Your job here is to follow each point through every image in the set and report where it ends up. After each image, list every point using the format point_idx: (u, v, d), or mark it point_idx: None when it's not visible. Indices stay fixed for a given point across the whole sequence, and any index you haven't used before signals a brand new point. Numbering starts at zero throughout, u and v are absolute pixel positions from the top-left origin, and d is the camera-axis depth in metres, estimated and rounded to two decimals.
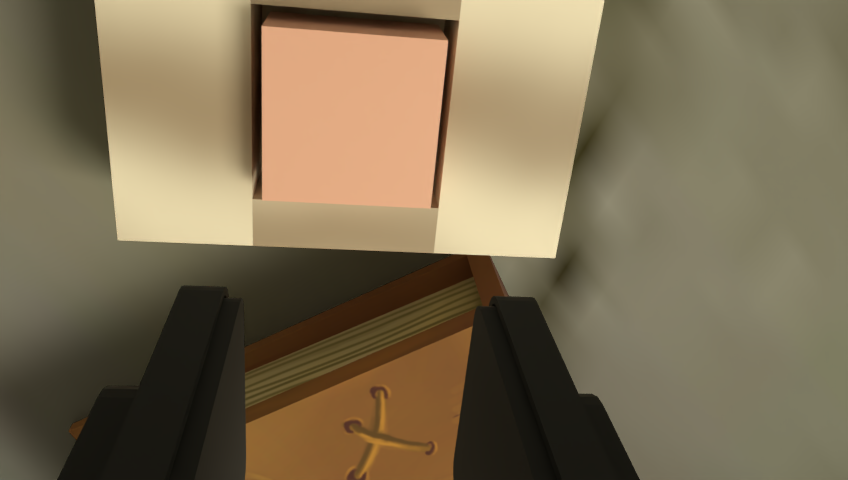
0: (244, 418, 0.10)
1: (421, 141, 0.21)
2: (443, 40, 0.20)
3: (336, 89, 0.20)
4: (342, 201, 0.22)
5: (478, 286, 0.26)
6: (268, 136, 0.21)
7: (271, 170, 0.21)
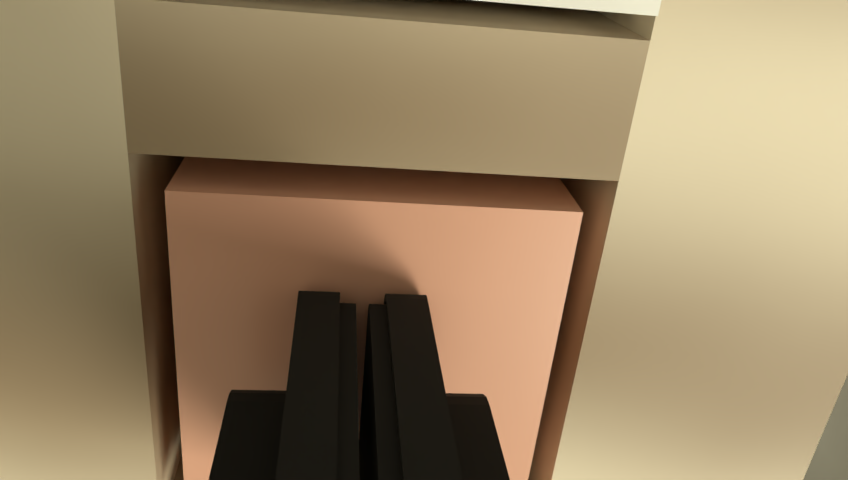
0: None
1: (512, 400, 0.10)
2: (572, 212, 0.09)
3: None
4: None
5: None
6: (192, 401, 0.10)
7: (203, 458, 0.10)
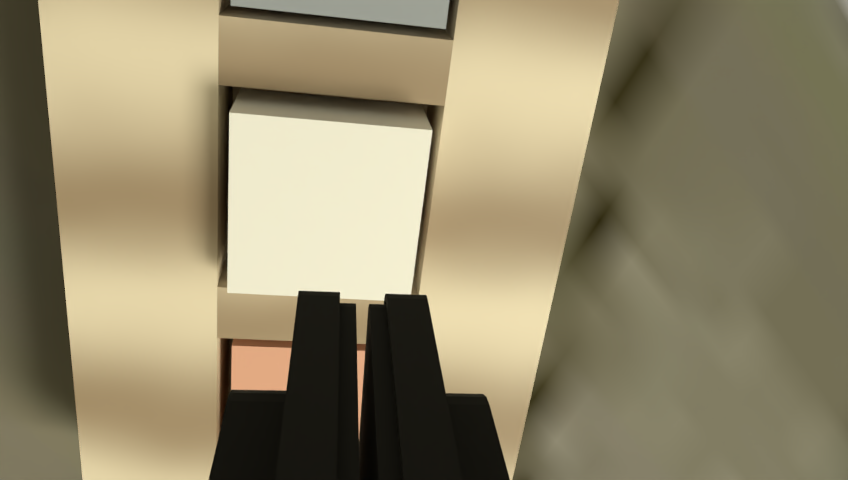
0: None
1: None
2: None
3: None
4: None
5: None
6: None
7: None
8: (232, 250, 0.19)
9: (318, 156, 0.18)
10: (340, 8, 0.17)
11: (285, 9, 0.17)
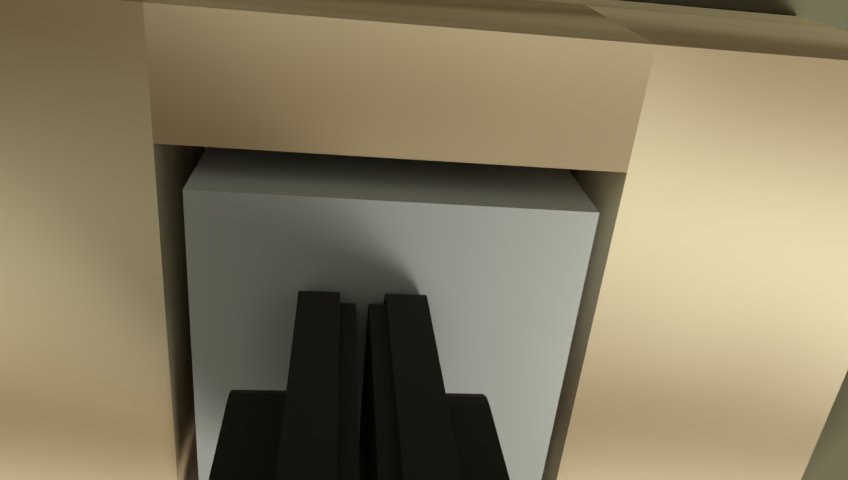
0: None
1: None
2: None
3: None
4: None
5: None
6: None
7: None
8: None
9: None
10: None
11: None
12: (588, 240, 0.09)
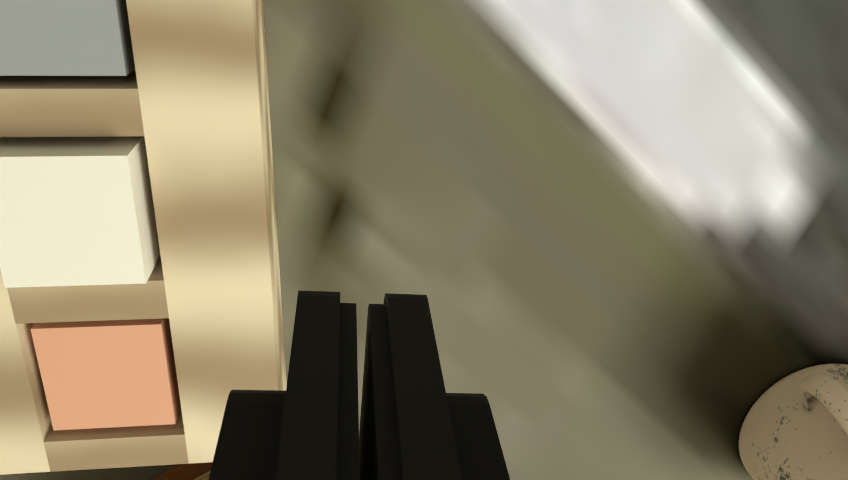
0: None
1: (158, 384, 0.31)
2: (157, 324, 0.29)
3: (90, 360, 0.30)
4: (110, 425, 0.31)
5: None
6: (49, 391, 0.30)
7: (56, 411, 0.31)
8: (1, 256, 0.26)
9: (47, 181, 0.25)
10: (48, 69, 0.25)
11: (11, 74, 0.25)
12: None
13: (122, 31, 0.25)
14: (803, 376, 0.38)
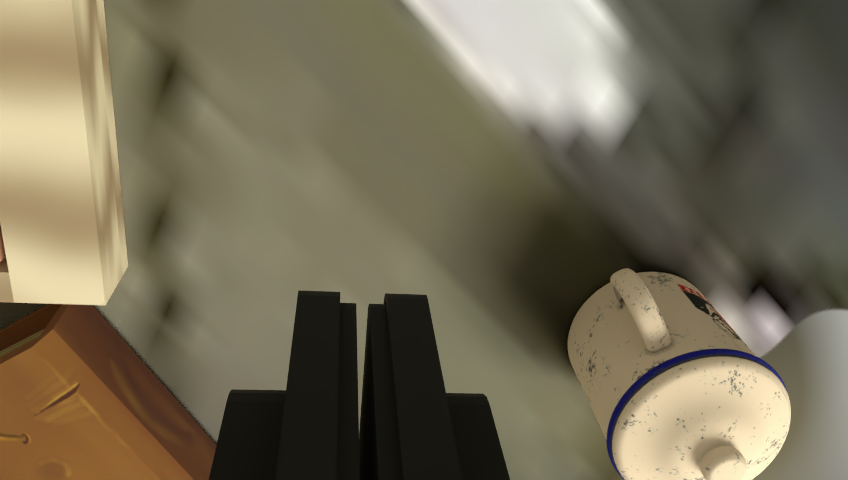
0: None
1: None
2: None
3: None
4: None
5: (49, 321, 0.36)
6: None
7: None
8: None
9: None
10: None
11: None
12: None
13: None
14: None
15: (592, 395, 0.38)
